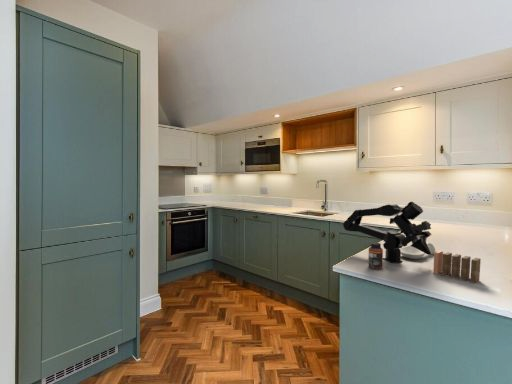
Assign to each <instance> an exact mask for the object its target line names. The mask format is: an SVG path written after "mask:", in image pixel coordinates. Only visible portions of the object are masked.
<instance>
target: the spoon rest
mask: <svg viewBox="0 0 512 384" xmlns="http://www.w3.org/2000/svg"><path fill="white" fill-rule="evenodd" d="M426 243H427V246H428V248H429V250H430V252H431V254H430V255H434V252H436V247H435V246H434V244H432V243H431V242H426ZM399 249H400V253H401V255H402V257H404V258H406V259H411V260H420V259H421V258H423V257H424V256H425V255H426V253H424V252H422V251H420V250H418V249H416V248H414V247H412V246H410V245H407V246H405V247H402V248H399Z"/></svg>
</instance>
